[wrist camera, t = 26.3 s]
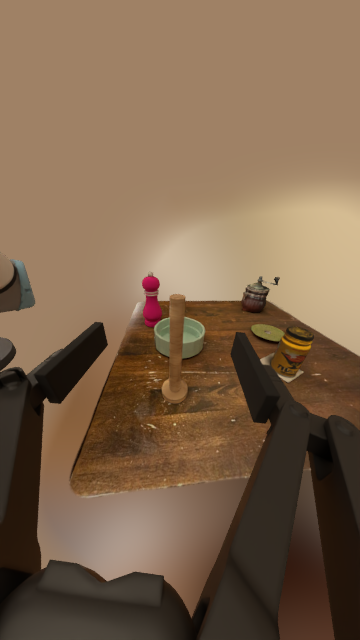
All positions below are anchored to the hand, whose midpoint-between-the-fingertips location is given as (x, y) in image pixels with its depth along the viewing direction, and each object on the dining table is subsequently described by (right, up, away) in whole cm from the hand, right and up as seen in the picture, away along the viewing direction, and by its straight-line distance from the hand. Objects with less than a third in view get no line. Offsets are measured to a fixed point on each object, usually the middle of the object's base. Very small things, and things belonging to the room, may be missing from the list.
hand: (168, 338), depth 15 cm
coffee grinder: (+38, +6, +60) cm, 72 cm away
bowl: (+1, -6, +34) cm, 34 cm away
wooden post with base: (0, -14, +18) cm, 23 cm away
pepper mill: (-10, 0, +45) cm, 46 cm away
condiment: (+29, -11, +26) cm, 40 cm away
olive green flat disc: (+33, -4, +40) cm, 52 cm away
